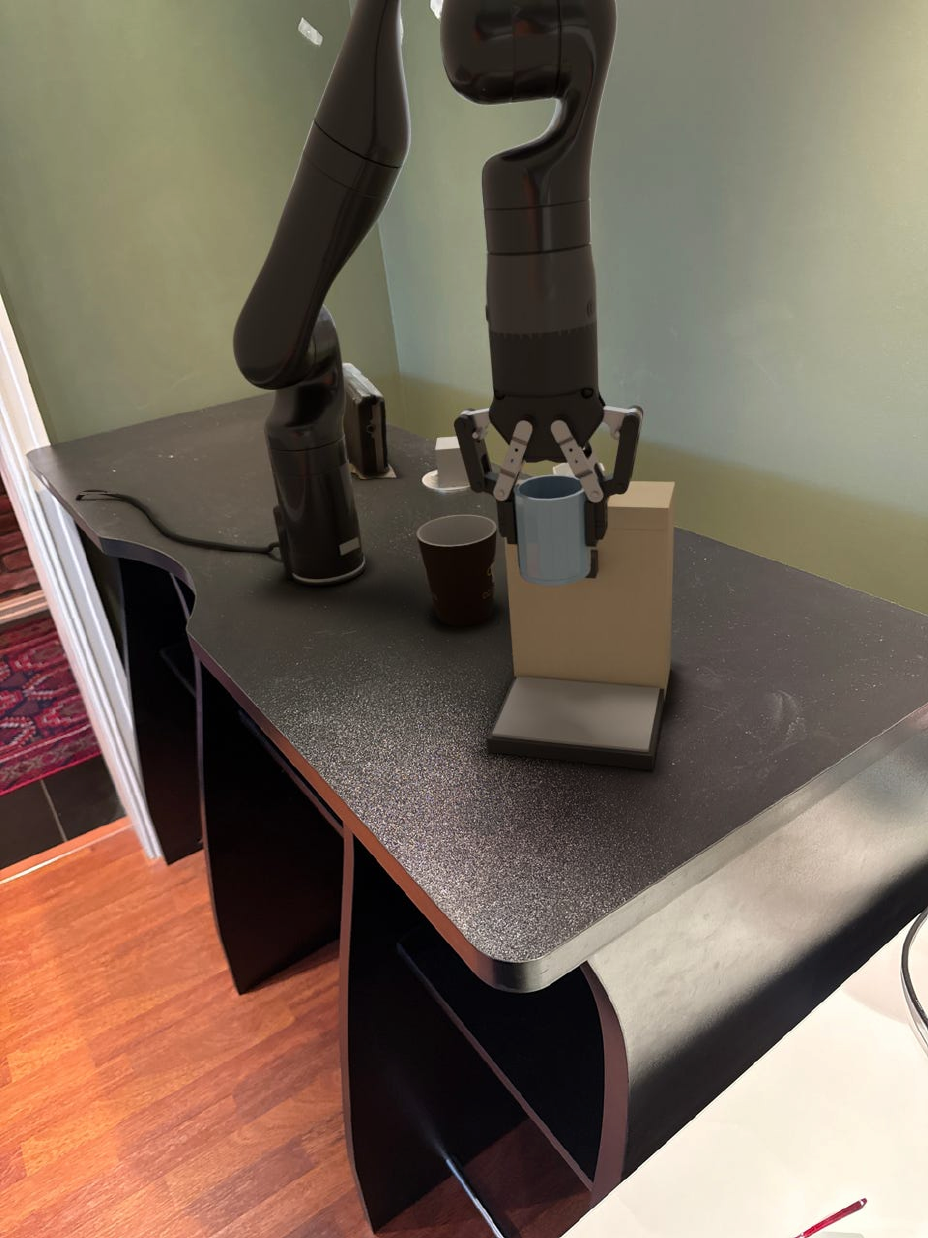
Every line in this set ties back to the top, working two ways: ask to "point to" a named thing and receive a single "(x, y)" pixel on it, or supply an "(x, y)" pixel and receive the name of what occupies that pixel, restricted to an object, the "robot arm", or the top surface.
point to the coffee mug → (460, 566)
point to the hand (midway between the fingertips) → (553, 541)
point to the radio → (365, 426)
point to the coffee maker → (595, 644)
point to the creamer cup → (551, 530)
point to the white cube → (450, 463)
